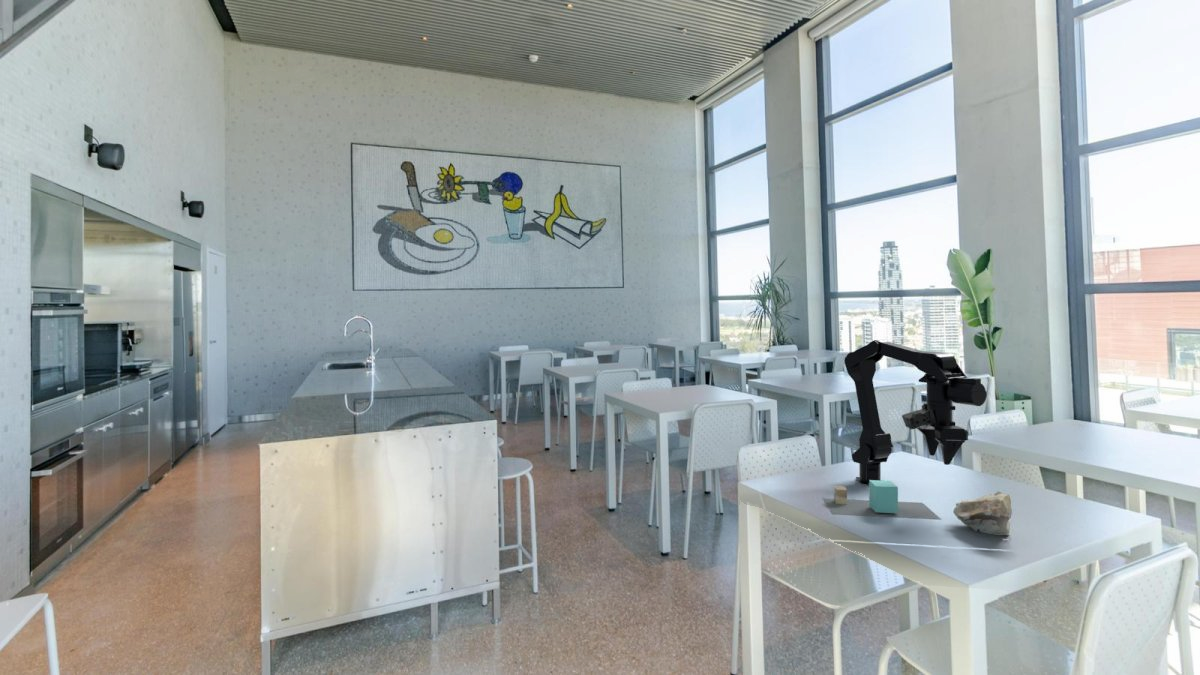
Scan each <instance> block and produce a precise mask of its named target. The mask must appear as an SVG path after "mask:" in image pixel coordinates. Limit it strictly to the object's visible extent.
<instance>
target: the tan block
mask: <svg viewBox="0 0 1200 675" xmlns="http://www.w3.org/2000/svg"><path fill="white" fill-rule="evenodd" d="M833 488H834V491H833V493H834V494H833V499H834V501H835V503H836V504H843V505H847V499H848V490H847V487H845V486H839V485H838V486H835V485H834V487H833Z"/></svg>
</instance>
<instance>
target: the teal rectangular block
mask: <svg viewBox="0 0 1200 675" xmlns="http://www.w3.org/2000/svg"><path fill="white" fill-rule="evenodd" d="M868 488H869V490H868V495H869V496H868V500H869V506H870V507H871V508H872V509H873V510H874V511H875V512H880V513H898V502H899V493H898V492H899V487H898V485H896V484H895V483H894V482H893V481H891V480H881V481H879V480H869V484H868Z"/></svg>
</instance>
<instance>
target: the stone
mask: <svg viewBox="0 0 1200 675" xmlns="http://www.w3.org/2000/svg"><path fill="white" fill-rule="evenodd" d="M1011 501H1012V500H1011V496H1010V494H1003V493H1002V492H1001V491H997V492H996V493H994V494H993V493H990V494H986V495H983V496H981V497H978V498H975V499H970V500H969V499H967V500H962V501H960V502H956V503H955V507H954V509H953V514H954V516H955V517H956V518H957V519H958V520H959V521H961V522H962V524H963V525H965V526H968V527H970V528H971V529H972V530H973V531H974V532H975V533H976V532H977V533H980V534H981V533H982V534H989V535H995V536H1006V537H1007V536H1009V535H1010V532H1011V531H1010V529H1011V528H1010V527H1011V522H1010V521H1009V520H1011V518H1012V514H1013V513H1012V512H1013V509H1012V504H1011V503H1012V502H1011Z"/></svg>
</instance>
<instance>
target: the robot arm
mask: <svg viewBox="0 0 1200 675" xmlns="http://www.w3.org/2000/svg"><path fill="white" fill-rule="evenodd" d="M884 357H888V358H890V359H894V360H897V361H900V362H904V363H907V364H909V365H913V366H914V367H915V368H917V370H919V371H920V372H923V373H924V375H923V376H922V377H920V378H919V379H918V382H919V383H926V402H923V404H922V409H917V410H914V411H911V412H907V413H904V414H902V415H901V418H902V420H903V423H904V426H905V427H906V428H908V429H909V430H915V429H916V430H917V431H919V432H920V433H921V434H922V435H923V437H924V441H925V445H926V448H927V451H928V454H929V456H932V457H933V456H936V452H937V449H938V447H939V444H940V448H941V455H942V460H943V461H942V462H943V464H944V465H950V464H951V462H952V461H953V459H954V457H955V456H956V454H957V452H958V451H959V450H960V448H961V447H962V445H963V444H964V443H966V441H968V440H969V432H968V431H967V430H966V429H965V428H963V427H962V426H959V425H956V421H954V420H953V411H956V406H955V405H953V403H954V404H960V405H967V406H973V407H974V406H975V407H981V406H983V405H984V403H985V402H986V400H987V394H988V392H987V391H986V388H985V386H984V384H982V383H981V382H982V379H981V378H977V377H973V378H972V377H971V378H969V377H967V375H966V374H965V372H964V371H963V370H962V368H961V367H960V366H959V364H958V362H957V359H956V357H955V355H954V354H952V353H950V352H945V351H944V352H943V351H926V350H920V349H917V348H913V347H909V346H906V345H902V344H898V343H895V342H892V341H888V340H886V339H874V340H872V341H871V342H869V343H867V344H866V345H864V346H862V347H860V348H857V349H856V350H854V351H851V352H848V354H846V356H845V357H844V365H845V369H846V372H847V374H848V376H849V377H850V378H851V379H852V381H853V382H854V386H855V391H856V396H857V397H856V398H857V403H858V408H859V409H858V410H859V415H860V420H861V427H862V430H861V433H860V436H859V447H858V449H856V450H855V451H854V452H853V453H852V454H851V458H852V460H853V463H856V464H859V465H858V466H859V468H858V471H859V476H856V477H855V479H856V480H857V482H859V484H861V485H869V480H879V481H882V480H881V474H882V472H881V464H882V463H887V461H888V459H889V456H890V455H891V454H892V452H893V448H894V445H893V444H892V442H893V441H892V436H891V433H889V432H887V433H886V431H884V430H883V428H882V424H881V419H880V413H879V408H878V403H877V398H876V392H875V387H874V381H873V380H874V376H875V374H876V371H877V365H876V364H877V363H878V362H879V361H881V360H883V358H884Z"/></svg>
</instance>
